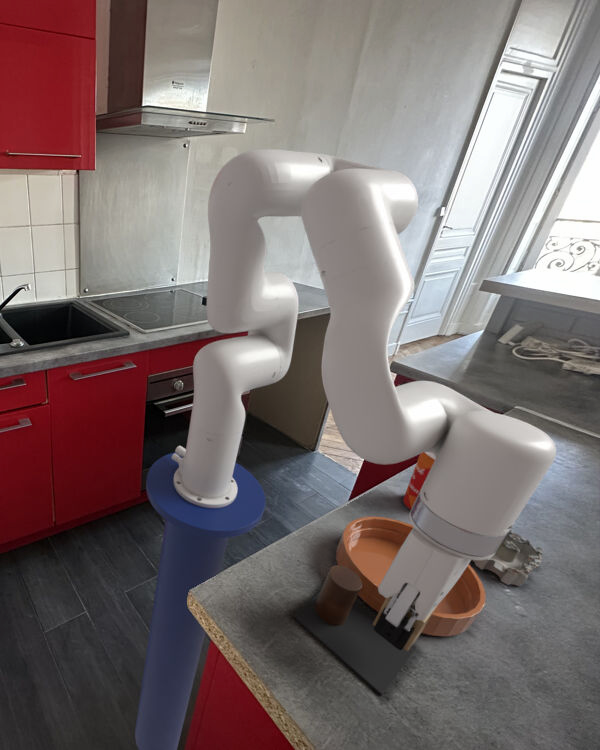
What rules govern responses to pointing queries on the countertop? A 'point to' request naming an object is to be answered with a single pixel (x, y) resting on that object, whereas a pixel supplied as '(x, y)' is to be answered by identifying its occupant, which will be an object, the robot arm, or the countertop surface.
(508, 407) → the countertop surface
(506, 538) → the egg carton
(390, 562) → the pan
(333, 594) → the walnut cylinder
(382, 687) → the mat
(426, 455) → the paper cup
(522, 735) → the countertop surface
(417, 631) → the birch block
